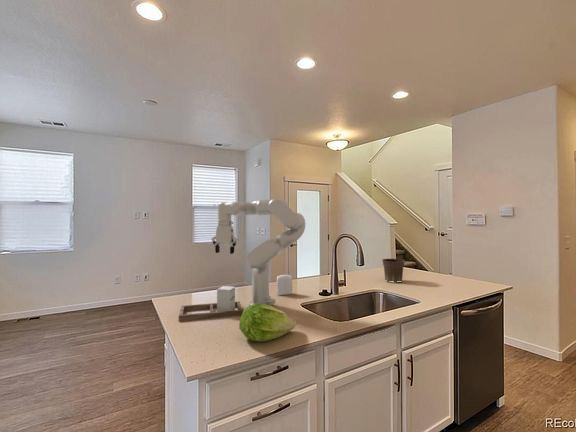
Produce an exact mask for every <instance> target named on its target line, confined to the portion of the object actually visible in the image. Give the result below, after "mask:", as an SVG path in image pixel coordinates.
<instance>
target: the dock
mask: <svg viewBox="0 0 576 432" xmlns="http://www.w3.org/2000/svg"><path fill="white" fill-rule="evenodd" d="M235 308H237V309H235V310H233V311H221V312H217V311H214V310H217V302H214V303H213V302H212V303H200V304H189V305H187V304H186V305H181V306H180V309H179V310H180V311H179V313H178V322H185V321H186V322H187V321H197V320H207V319H210V320H211V319H218V318H219V319H221V318H229V317H241V315H242V313H243V311H244V310H243V308H242V303H241V302H240V301H235ZM202 310H203V311H204V310H209V312H197V313H186V314H185V312H190V311H191V312H192V311H202Z"/></svg>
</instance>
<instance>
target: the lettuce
mask: <svg viewBox="0 0 576 432" xmlns="http://www.w3.org/2000/svg"><path fill="white" fill-rule="evenodd" d="M238 325H239V328H238V329H239V330H240V332H241V333H242V334H243V335H244V337H245V338H246V339H248V340H251V341H253V342H264V343H265V342H269V341H271V340H272V339H273V340H275V339H278V338H280V337H282V336H284V335H285V334H288V333H289V332H291V331H293V330H294V329H295V328H296V325H297V321H296V320H295V319H294V318H293V317H292V316H289V315H288V314H287V313H286V312H284V311H283V310H280V309H277V308H275V307H274V306H272V305H271V306H269V305H265V304H259V303H257V304H253V305H251V306H250V305H249V306H248V307H245V308H244V310H243V313H242V315H241V316H240V319H239V323H238Z"/></svg>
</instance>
